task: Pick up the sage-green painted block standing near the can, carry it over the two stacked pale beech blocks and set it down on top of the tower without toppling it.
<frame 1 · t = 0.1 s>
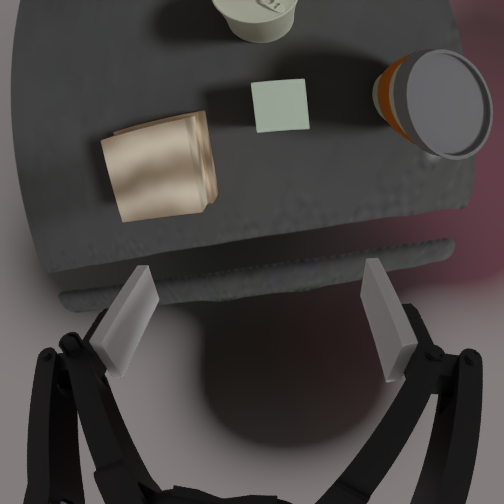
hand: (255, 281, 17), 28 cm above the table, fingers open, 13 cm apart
tower top: (161, 165, 37), point 4 cm above the table, touching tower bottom
can: (260, 15, 29), on the table
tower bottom: (171, 158, 41), on the table, touching tower top
reusable coffee cup: (399, 97, 33), on the table
green block: (279, 104, 36), on the table
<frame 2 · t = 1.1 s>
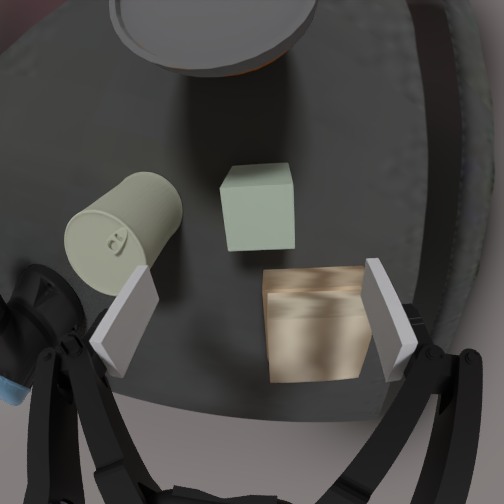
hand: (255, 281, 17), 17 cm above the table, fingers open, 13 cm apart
tower top: (315, 327, 36), point 4 cm above the table, touching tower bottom
can: (148, 207, 33), on the table
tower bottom: (312, 304, 40), on the table, touching tower top
reusable coffee cup: (238, 31, 22), on the table
green block: (262, 190, 31), on the table
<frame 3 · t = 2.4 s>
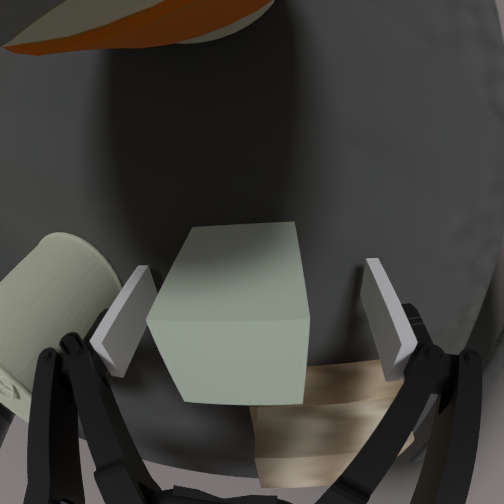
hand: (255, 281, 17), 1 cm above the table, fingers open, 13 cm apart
tower top: (324, 432, 22), point 4 cm above the table, touching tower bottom
can: (78, 280, 20), on the table
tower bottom: (319, 396, 27), on the table, touching tower top
green block: (247, 267, 18), on the table
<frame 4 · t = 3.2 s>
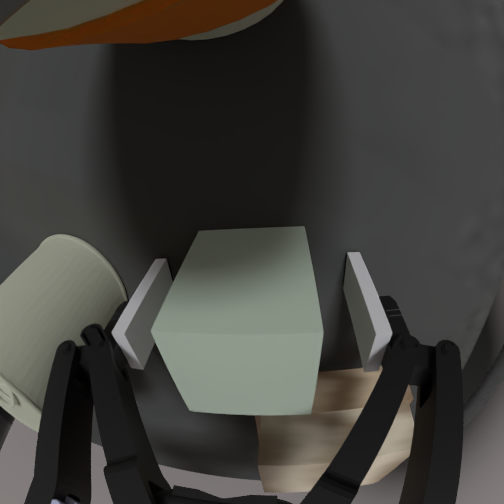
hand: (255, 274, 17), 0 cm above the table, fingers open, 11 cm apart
tower top: (328, 437, 22), point 4 cm above the table, touching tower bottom
can: (80, 283, 20), on the table
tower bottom: (324, 401, 26), on the table, touching tower top
green block: (255, 272, 18), on the table
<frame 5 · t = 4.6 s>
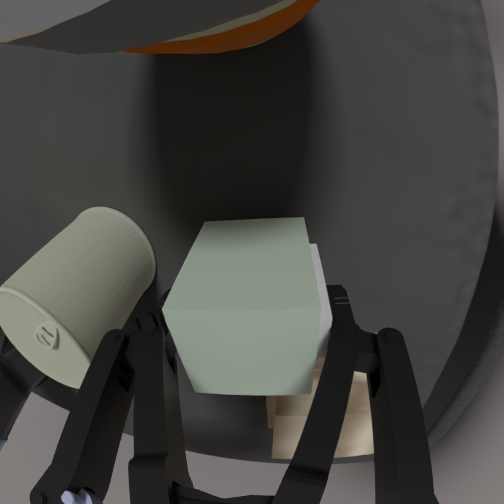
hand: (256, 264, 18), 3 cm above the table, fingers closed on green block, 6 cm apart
tower top: (333, 402, 26), point 4 cm above the table, touching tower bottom
can: (111, 252, 24), on the table
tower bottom: (326, 370, 30), on the table, touching tower top
green block: (257, 261, 19), point 3 cm above the table, touching gripper
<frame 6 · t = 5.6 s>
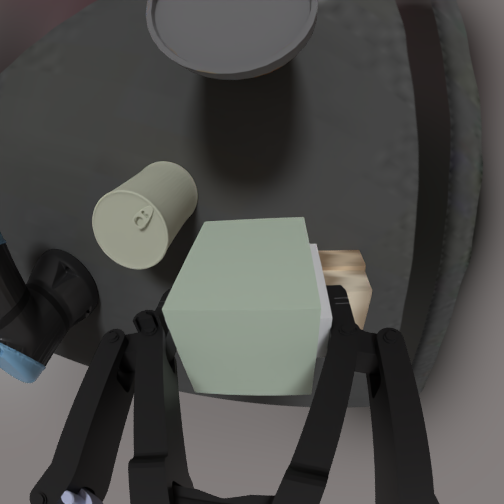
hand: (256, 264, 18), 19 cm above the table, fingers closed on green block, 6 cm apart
tower top: (316, 305, 39), point 4 cm above the table, touching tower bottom
can: (166, 193, 37), on the table
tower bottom: (312, 286, 43), on the table, touching tower top
reusable coffee cup: (249, 38, 26), on the table
green block: (257, 261, 19), point 19 cm above the table, touching gripper
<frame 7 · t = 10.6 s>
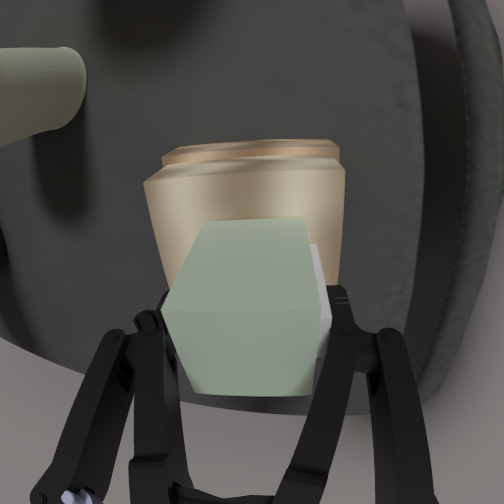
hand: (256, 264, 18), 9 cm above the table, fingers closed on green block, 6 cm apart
tower top: (253, 232, 23), point 4 cm above the table, touching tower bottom
can: (56, 88, 20), on the table
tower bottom: (257, 209, 26), on the table, touching tower top
green block: (257, 261, 19), point 9 cm above the table, touching gripper
when the fingers open (9 cm above the table, at t = 10.7 s): green block moves 1 cm, point 9 cm above the table.
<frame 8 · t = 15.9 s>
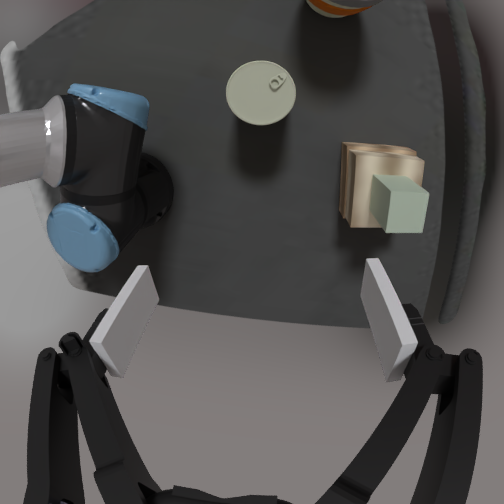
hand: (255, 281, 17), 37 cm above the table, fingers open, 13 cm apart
tower top: (379, 185, 45), point 4 cm above the table, touching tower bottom
can: (263, 94, 43), on the table
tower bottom: (373, 177, 49), on the table, touching tower top
green block: (388, 193, 41), point 9 cm above the table
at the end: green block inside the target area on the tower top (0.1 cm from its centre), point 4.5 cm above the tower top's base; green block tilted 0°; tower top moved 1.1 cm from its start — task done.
